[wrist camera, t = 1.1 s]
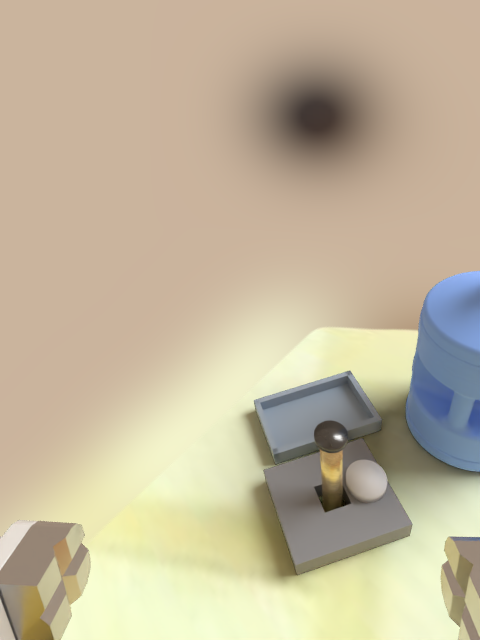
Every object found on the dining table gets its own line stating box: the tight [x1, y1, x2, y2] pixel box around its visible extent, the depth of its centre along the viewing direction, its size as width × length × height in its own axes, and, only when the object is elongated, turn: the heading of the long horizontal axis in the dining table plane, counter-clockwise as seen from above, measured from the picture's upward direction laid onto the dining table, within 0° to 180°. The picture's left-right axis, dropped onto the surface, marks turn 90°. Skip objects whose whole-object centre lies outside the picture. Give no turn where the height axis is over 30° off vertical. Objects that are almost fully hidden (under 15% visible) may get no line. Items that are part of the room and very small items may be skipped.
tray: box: [254, 371, 382, 464], centre depth 63 cm, size 16×10×2 cm, turn 104°
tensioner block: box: [264, 438, 413, 575], centre depth 52 cm, size 14×12×4 cm
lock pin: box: [314, 420, 348, 512], centre depth 48 cm, size 3×3×16 cm
